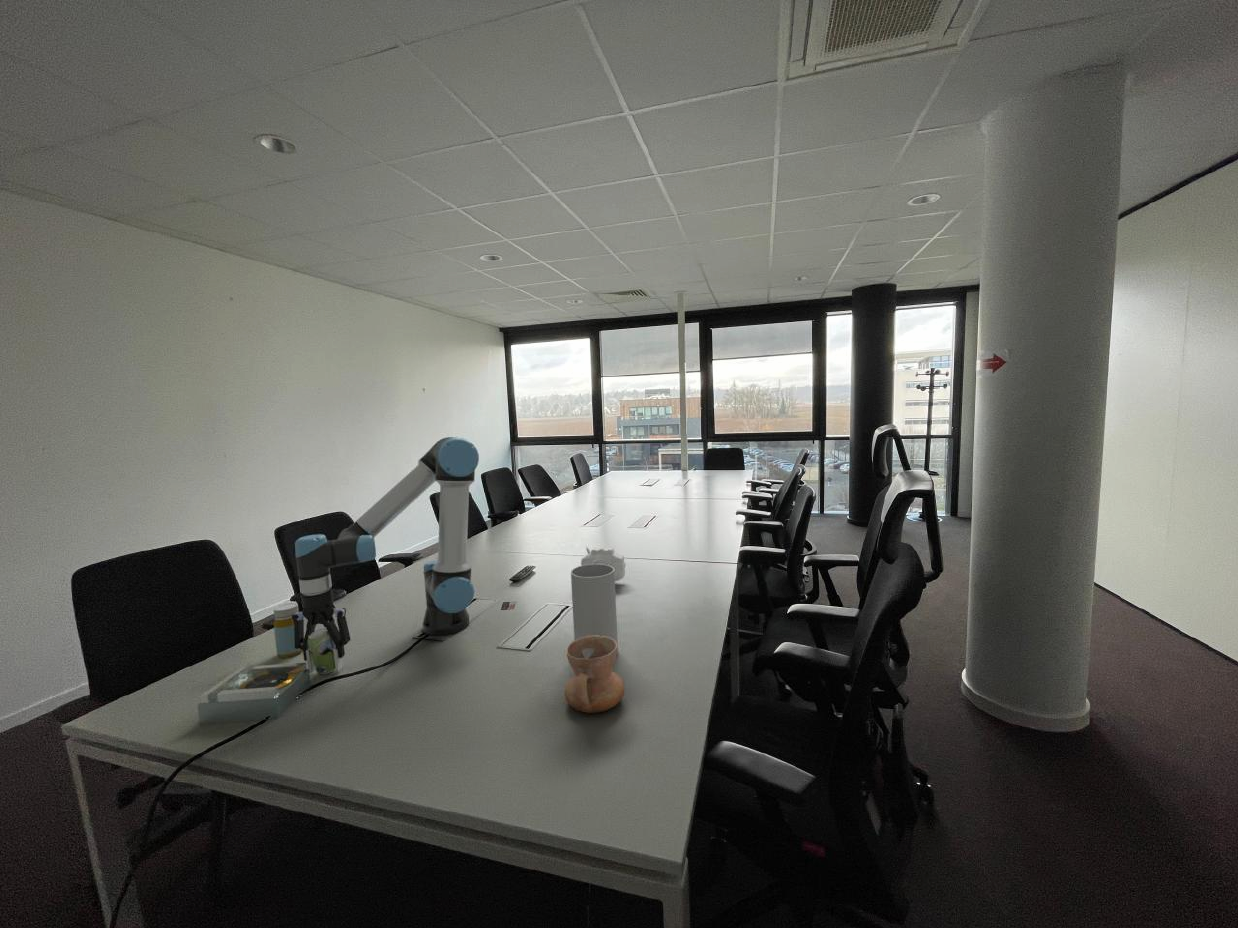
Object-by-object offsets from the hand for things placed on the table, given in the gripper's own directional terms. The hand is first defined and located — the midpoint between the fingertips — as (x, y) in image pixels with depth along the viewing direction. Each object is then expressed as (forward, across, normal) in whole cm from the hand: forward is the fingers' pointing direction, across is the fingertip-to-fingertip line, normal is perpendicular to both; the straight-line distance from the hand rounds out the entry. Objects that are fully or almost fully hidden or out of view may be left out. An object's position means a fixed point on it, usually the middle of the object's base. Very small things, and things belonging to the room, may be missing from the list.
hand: (326, 669), depth 139 cm
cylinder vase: (+2, -77, 0) cm, 77 cm away
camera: (+3, -81, -60) cm, 100 cm away
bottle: (+1, +18, -15) cm, 24 cm away
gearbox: (+1, +9, +14) cm, 17 cm away
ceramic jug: (+2, -76, +25) cm, 80 cm away
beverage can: (+1, 0, 0) cm, 1 cm away
